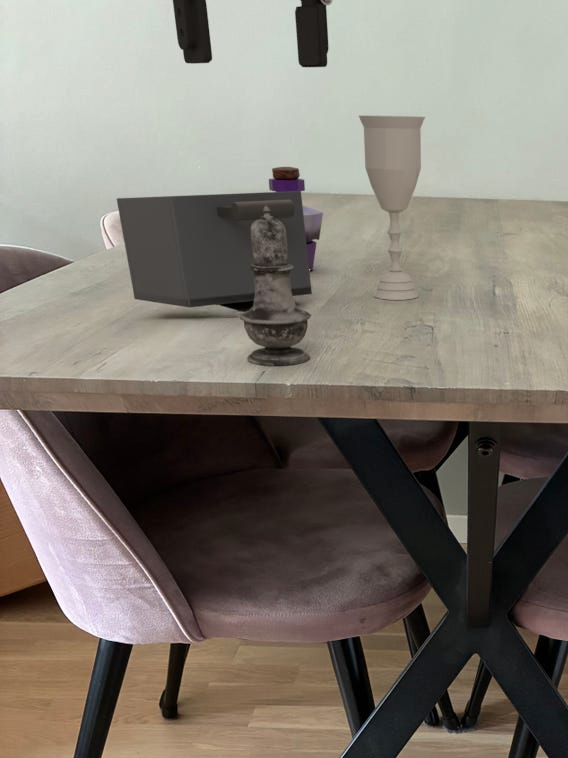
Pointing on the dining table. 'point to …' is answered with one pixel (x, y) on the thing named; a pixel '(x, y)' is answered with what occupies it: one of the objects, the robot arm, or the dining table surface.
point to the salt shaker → (273, 298)
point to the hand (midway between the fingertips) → (257, 64)
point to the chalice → (393, 185)
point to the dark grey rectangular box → (206, 245)
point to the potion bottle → (288, 181)
